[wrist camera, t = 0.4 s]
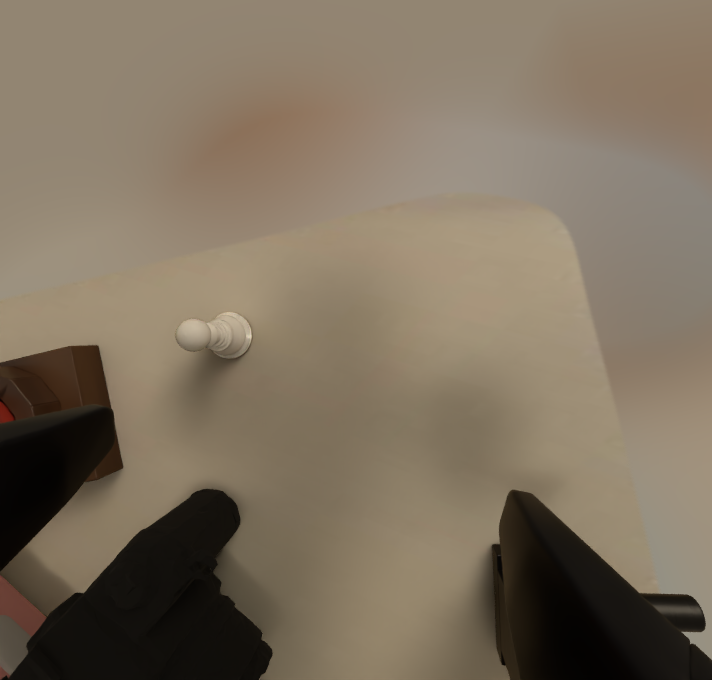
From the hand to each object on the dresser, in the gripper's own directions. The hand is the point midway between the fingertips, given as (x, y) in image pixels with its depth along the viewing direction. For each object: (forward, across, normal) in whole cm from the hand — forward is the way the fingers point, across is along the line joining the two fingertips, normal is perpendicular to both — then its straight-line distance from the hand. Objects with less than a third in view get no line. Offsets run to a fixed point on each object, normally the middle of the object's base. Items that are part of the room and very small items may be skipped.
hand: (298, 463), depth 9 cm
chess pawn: (+15, +9, +3) cm, 18 cm away
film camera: (+10, +8, +19) cm, 23 cm away
